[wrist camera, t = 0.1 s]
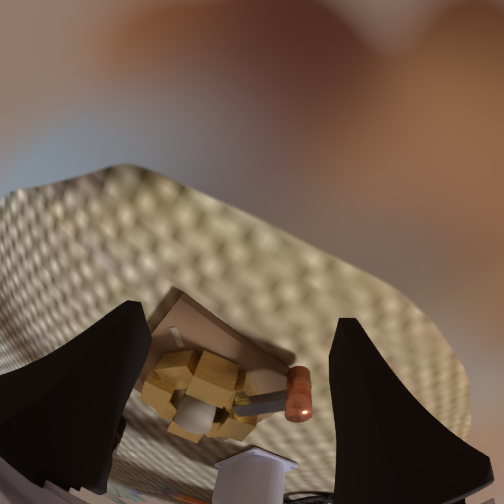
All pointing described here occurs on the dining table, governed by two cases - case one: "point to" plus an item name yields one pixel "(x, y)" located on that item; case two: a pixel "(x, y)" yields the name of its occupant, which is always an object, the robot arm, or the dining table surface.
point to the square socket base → (218, 343)
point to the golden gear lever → (222, 393)
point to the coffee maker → (325, 500)
